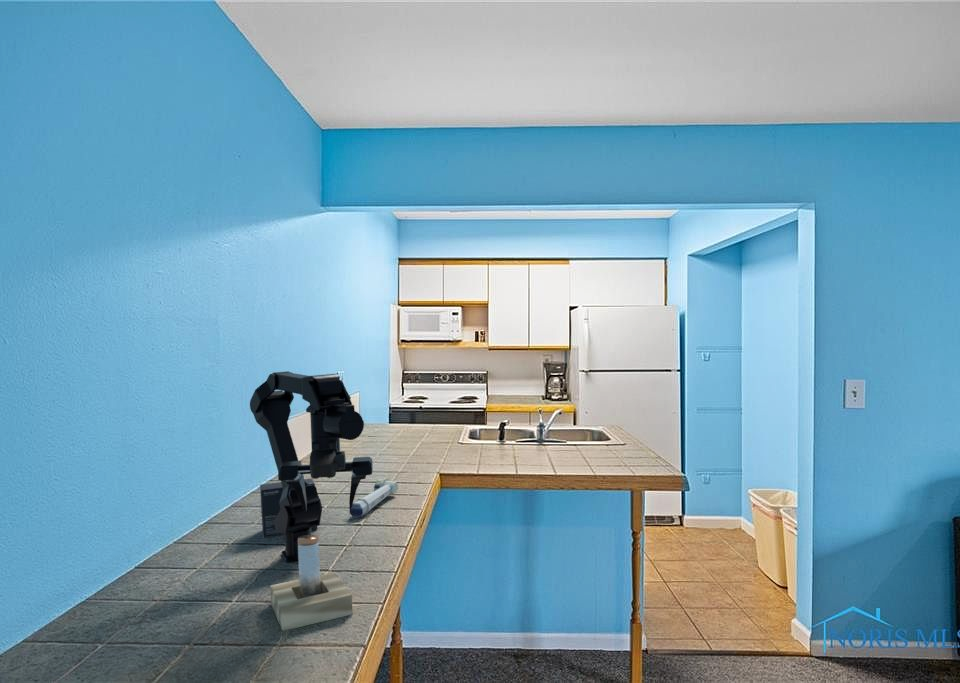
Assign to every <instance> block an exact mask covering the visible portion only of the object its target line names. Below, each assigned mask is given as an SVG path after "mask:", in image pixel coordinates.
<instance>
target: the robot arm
mask: <svg viewBox="0 0 960 683" xmlns="http://www.w3.org/2000/svg"><path fill="white" fill-rule="evenodd" d="M294 394H297V395H300V396H301V398H302V400H304V401H305V402H308V404H309V405H308V406H307V407H306V408H305V412H307V413H309V414H310V416H309V417H310V438H311V452H310V455H309V464H302V460H299V458H298V455H297V450H296V447H295V444H294V441H293V438H292V435H291V431H290V428H289V425H288V424H289V423H288V421H289V418H290V416H291V405H292V403H293V401H294V398H295V397H294ZM351 398H352V397H351V396H350V395H349V392H348V391H347V388H346V386H345V384H344V382H343V380H342V379H341V376H340V375H339V374H337V373H326V374H315V375H307V374H300V373H299V374H298V373H294V372H291V371H289V370H288V371H277V372H276V371H275V372H271V373H270V374H269V375H268V376H267V378H266V380H265V381H264V382H262V383H261V385H259V386H258V387H257V388H256V389H255V390H254V392H253V393H252V396H251V398H250V400H249V409H250V411H251V413H252V414H253V416H254V420H255V423H256V424H258V425H259V426H260V427H261V428H262V429H264V430H265V432H266V434H267V438H268V441H269V445H270V448H271V452H272V454H273V458H274V462H275V465H276V469H277V476H278V477H277V478H278V479H277V480H278V481H280V482H281V483H282V487H283V492H282V495H281V499H280V502H279V504H280V511H279V513H278V515H277V517H276V518H275V520H274V524H275V529H276V531H278V532H280V533H282V534H285V535H284V548H285V550H282V551H281V555H282V556H283V558H284V560H285V562H287V563H288V562H294V561H299V559H298V538H299V537H301V536H304V535H312V531H311V527H314V526H317V527H318V526H320V525H321V524H320V523H321V519H322V512H323V505H322V501H321V498H320V497H319V494H318V490H317V487H316V484H315V485H314V484H313V485H309V484H308V483H306V482H305V480H304V479H305V476H304V475H310V478H312V479H313V480H317V479H319V478H321V479H322V478H327V479H330V478H331V479H332V478H334V477H336V475H337V473H341V472H342V473H343V472H352V473H351V477H350V478H351V479H350V491H349V492H350V493H349V500H348V501H349V502H348V503H349V505H348V506H349V508H352V505H353V503H354V500H355V497H356V493H357V490H358V487H359V485H360V482H361V480H365V479H366V478H367V476H371V475H373V469H374V468H373V466H374V465H373V458H372V457H370V456H358V457H357V456H356V457H353V459H352V461H348V462H347V461H346V451H345V450H341V443H340V441H341V440H340V439H343V440H348V441H353V440H356V439H357V438H359V437H360V435H361V434H362V433H363V431H364V427H365V421H364V420H363V417H362V414H360V413H359V412H358V411H356V410H355V405H354V404H353V402H352V400H351Z"/></svg>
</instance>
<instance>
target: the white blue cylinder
mask: <svg viewBox="0 0 960 683" xmlns="http://www.w3.org/2000/svg"><path fill="white" fill-rule="evenodd" d="M398 490H399V484H398V483H397V482H396V481H392V480H390V478H388V477H385V478H379V479H376V483H374V487H373V491H372V492H370V493H369V494H367V495H365V496H363V497H362V498H358V499H356V501H355V502H353V505H352V508H350V507H348V509H349V515H351V517H352V518H355V519H356V518H357V519H358V518H360V517H362V516H366V515H367V514H368V513H369V512H370V510H372V509H373V508H374V507H376V506H377V505H378V504H380V502H381V501H383V500H384V499H385V498H387V497H388V496H389V495H395V494H397V493H398V492H397V491H398Z"/></svg>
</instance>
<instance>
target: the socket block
mask: <svg viewBox="0 0 960 683" xmlns="http://www.w3.org/2000/svg"><path fill="white" fill-rule="evenodd" d="M269 586H270V604H271V607H272V610H273V612H274V615H275V617H276V619H277V622H278V624H279V626H280V628H281V631H282V632H286V631H290V630H292V629H299V628H302V627H305V626H309V625H313V624H318V623H323V622H325V621H330V620H334V619H339V618H343V617H348V616H351V615H353V596H352V593H351V591H350V590H349V589H348V588H347V586H346V585H345V584H344V583H343V581H342V580H341V578H340V577H339V576H338V574H337V573H336V572H335V571H333V572H328V573H322V574H320V591H321V594H319V595H314V596H310V597H305V598H301V599H300V584H299V579H296V580H290V581H284V582H280V583H277V584H275V583H274V584H272V585H271V584H270V585H269Z"/></svg>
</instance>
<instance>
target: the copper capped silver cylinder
mask: <svg viewBox="0 0 960 683" xmlns="http://www.w3.org/2000/svg"><path fill="white" fill-rule="evenodd" d="M319 546H320V545H319V536H318V535H317V534H311V535H304V536H301V537H299V538H298V559H299V560H298V576H299V579H298V580H299V584H300V599H301V598H305V597H310V596H314V595H319V594H321V591H320V575H321V571H320V548H319Z"/></svg>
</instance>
